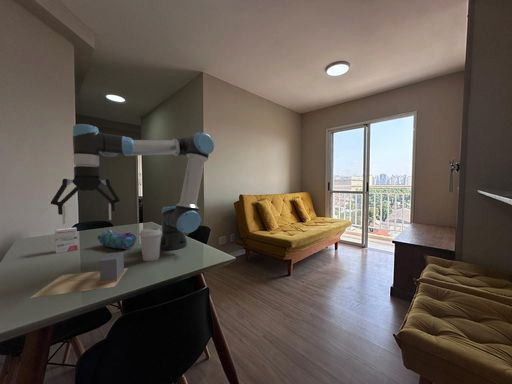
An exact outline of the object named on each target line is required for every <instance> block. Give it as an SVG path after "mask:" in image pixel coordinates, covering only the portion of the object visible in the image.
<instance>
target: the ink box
mask: <svg viewBox="0 0 512 384" xmlns="http://www.w3.org/2000/svg"><path fill="white" fill-rule="evenodd" d="M54 238H55V253H56V254H57V253H66V252H70V251H76V250H78V229H77V227H76V226H75V227H67V228H59V229H55V231H54Z"/></svg>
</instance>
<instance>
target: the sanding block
mask: <svg viewBox="0 0 512 384" xmlns="http://www.w3.org/2000/svg"><path fill="white" fill-rule="evenodd" d="M124 256H125V254H124V251H119V252H117V251H116V252H108V253H107V254H106V255H104V257H102V258H101V259H100V260H99V271H100V284H101V283H109V282H116V281H118V279H119V278H120V277H121V275H122V274H123V273H124V268H125V265H124V264H125V262H124V261H125V259H124V258H125V257H124ZM124 274H125V273H124ZM121 278H122V277H121Z"/></svg>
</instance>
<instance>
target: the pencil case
mask: <svg viewBox="0 0 512 384" xmlns="http://www.w3.org/2000/svg"><path fill="white" fill-rule="evenodd" d="M97 240H99V243H100V244H101V245H103V246H105V247H109V248H113V249H119V250H129V249H131V248H133V246H135V244H136V241H137V236H136V235H135V234H134V233H131V232H125V233H120V232H114V230H112V229H107V230H105V231H103V232H102V233H101V234H100V235H97Z"/></svg>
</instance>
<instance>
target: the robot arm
mask: <svg viewBox="0 0 512 384" xmlns="http://www.w3.org/2000/svg"><path fill="white" fill-rule="evenodd" d="M72 149H73V155H72V156H73V165H75V166H73V176H74V177H73V179H68V178H63V179H62V180H61V181H62V182H61V186H60V187H59V188H58V190H57V192H56V193H55V195H54V197H53V198H52V200H51V201H50V205H55V206H57V214H58V215H59V216H61V215H62V217H61V218H62V225H66V224H67V223H68V220H67V219H68V217H67V205H65V204H66V203H67V201H69V200H70V199H71V198H72V197H73V196H75V194H76V193H78V192H79V191H84V192H85V191H90V192H92V191H95V190H96V191H97V192H98V193H99V194H101V196H103V197H104V198H105V199H106V200H107V201H108V202H109V203H108V220H109V221H111V220H112V212H115V207H116V206H115V204H116V203H119V202H120V198H119V196H118V195H117V193H116V192H115V190H114V189H113V188H112V185H111V183H110V180H109V179H108V178H106V179H101V177H100V168H99V167H100V155H102V156H103V157H106V158H113V157H128V156H133V157H134V156H153V155H154V156H155V155H160V156H161V155H174V156H176V157H177V156H178V157H179V156H181V157H186V158H187V165H186V170H185V175H184V180H183V185H182V190H181V195H180V199H179V202H178V203H177V204H176V205H174V206H163V208H162V209H161V231H162V234H161V242H160V250H164V251H171V250H179V249H182V248H185V247H187V246H188V239H187V236H186V234H190V233H193V232H195V231H196V230H197V229H198V228H199V226H200V225H201V224H200V223H201V220H202V219H201V216H200V214H199V211H200V210H199V207H198V204H197V203H198V199H199V192H200V188H201V182H202V177H203V172H204V167H205V164H206V162H208V160H209V156H210V154H212V153H213V152H214V149H215V142H214V140H213V138H212V137H211V136H210V135H209V134H207V133H206V132H197V133H195V134H192V135H191V134H190V135H188V136H185V137H184V136H183V137H181V138H172V140H168V139H167V140H165V139H163V140H160V139H158V140H156V139H153V140H151V139H150V140H149V139H148V140H145V139H132V137H128V136H124V135H118V134H117V135H116V134H108V133H102V132H100V131H99V128H98V127H97V126H95V125H90V124H86V123H78V124H75V125H73V127H72ZM101 183H102V184H103V185H104V186H106V187H107V189H108V191H109V193H110V194H111V195H112V197H113V198H114V199H113V198H111V196H109V195H108V194H107V192H105V191H104V190H102V189H101V188H100V187H99V186H100V185H101ZM71 184H74V186H75V187H74V188H73V189H71V191H70V192H69V193H68V194H67V195H66V196H64V197H63V198H62V199H61V197H62V195H63V193H64V192H65V191H66V189H67V187H68V186H69V185H71ZM59 199H61V200H60V201H59Z"/></svg>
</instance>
